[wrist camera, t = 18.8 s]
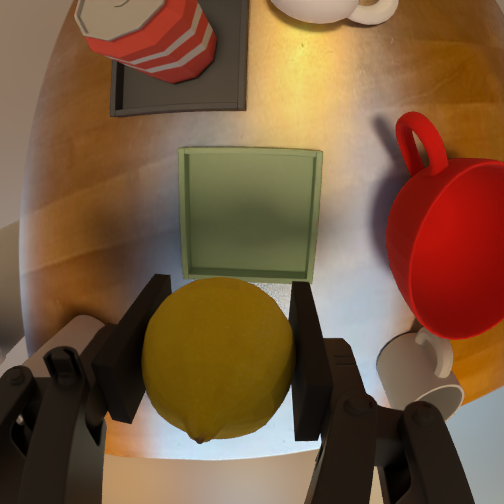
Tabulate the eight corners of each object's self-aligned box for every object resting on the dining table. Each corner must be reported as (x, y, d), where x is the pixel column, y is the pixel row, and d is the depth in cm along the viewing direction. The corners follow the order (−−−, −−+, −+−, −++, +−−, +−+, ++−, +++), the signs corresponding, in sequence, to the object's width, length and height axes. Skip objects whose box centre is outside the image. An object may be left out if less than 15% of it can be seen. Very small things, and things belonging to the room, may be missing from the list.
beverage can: (222, 17, 20) (190, -58, 9) (211, 86, 22) (165, 46, 11) (152, 19, 20) (84, -40, 9) (141, 85, 22) (57, 58, 11)
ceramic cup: (424, 85, 21) (492, 70, 12) (490, 236, 26) (550, 275, 16) (308, 159, 24) (335, 172, 15) (397, 306, 29) (438, 369, 19)
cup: (367, 380, 32) (386, 438, 24) (393, 307, 29) (428, 362, 20) (418, 377, 32) (444, 429, 24) (448, 308, 29) (488, 357, 20)
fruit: (214, 362, 16) (187, 493, 9) (150, 281, 14) (69, 401, 7) (309, 320, 15) (334, 461, 7) (250, 223, 13) (229, 339, 6)
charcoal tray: (119, 117, 24) (109, 116, 22) (127, 8, 20) (119, 1, 18) (245, 110, 23) (243, 108, 21) (249, -6, 19) (248, -15, 17)
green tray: (187, 270, 28) (182, 279, 27) (184, 147, 24) (178, 148, 23) (309, 275, 28) (312, 284, 26) (319, 150, 24) (323, 151, 22)
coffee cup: (83, 287, 30) (-1, 375, 16) (144, 349, 32) (92, 456, 18) (49, 326, 32) (-18, 403, 18) (102, 378, 34) (53, 466, 20)
